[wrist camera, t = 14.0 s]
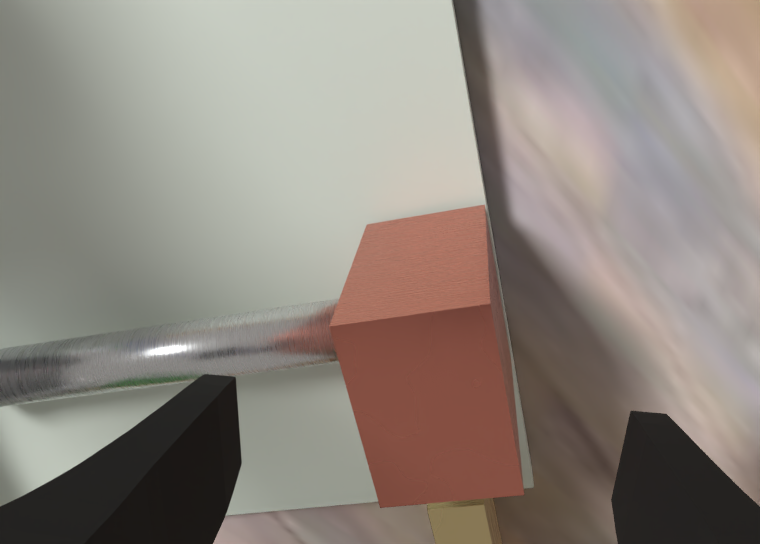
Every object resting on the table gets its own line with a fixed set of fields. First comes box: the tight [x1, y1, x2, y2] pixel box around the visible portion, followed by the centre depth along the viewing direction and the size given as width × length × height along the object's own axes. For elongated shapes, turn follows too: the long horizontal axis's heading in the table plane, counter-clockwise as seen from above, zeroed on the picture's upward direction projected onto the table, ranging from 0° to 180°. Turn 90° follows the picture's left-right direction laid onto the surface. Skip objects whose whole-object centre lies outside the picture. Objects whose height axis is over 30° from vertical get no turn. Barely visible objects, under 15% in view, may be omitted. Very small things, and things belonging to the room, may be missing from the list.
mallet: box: [0, 205, 524, 508], centre depth 17 cm, size 4×16×5 cm, turn 103°
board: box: [0, 0, 534, 516], centre depth 21 cm, size 18×25×1 cm
